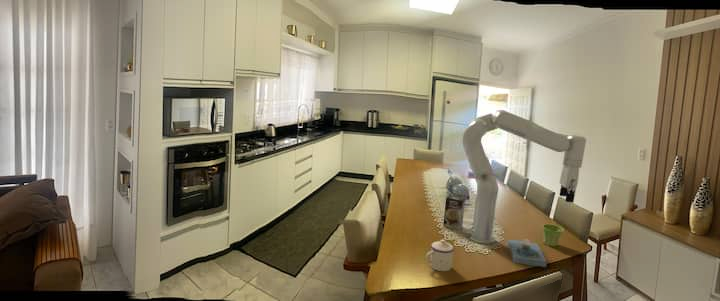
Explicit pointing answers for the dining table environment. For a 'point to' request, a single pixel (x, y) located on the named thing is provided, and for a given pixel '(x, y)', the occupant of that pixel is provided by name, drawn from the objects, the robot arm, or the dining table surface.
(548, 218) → the dining table surface
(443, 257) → the teacup with lid
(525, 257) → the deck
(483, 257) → the dining table surface
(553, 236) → the plant pot
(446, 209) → the coffee box
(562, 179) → the robot arm
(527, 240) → the ball
